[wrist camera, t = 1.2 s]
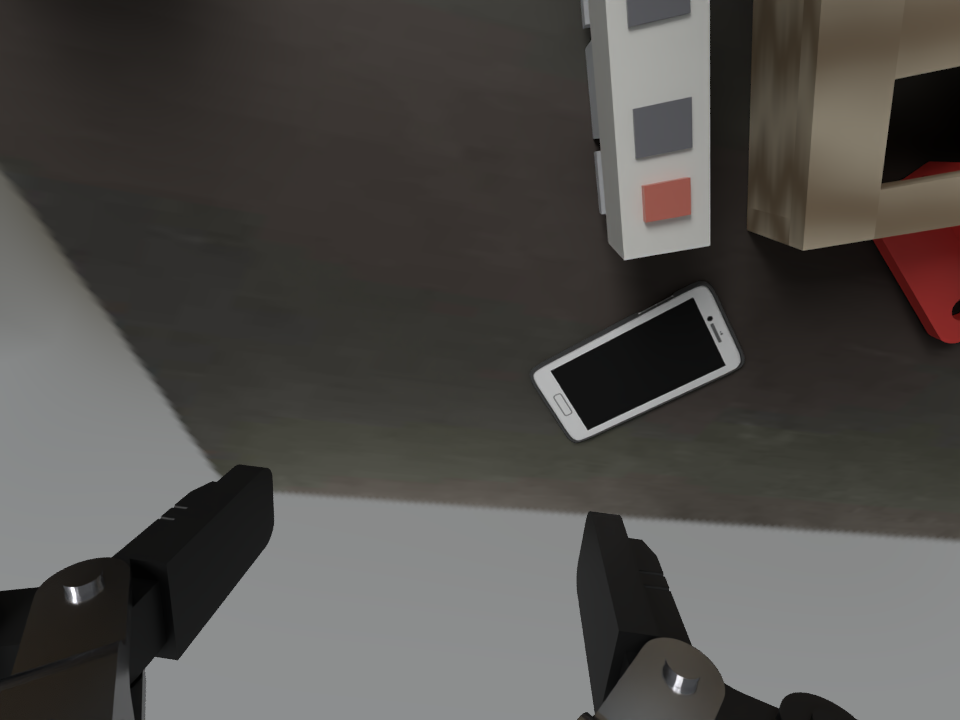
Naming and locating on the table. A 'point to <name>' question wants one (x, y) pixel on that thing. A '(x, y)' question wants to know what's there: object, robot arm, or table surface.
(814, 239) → the wooden block with holes
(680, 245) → the power strip
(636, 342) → the cell phone
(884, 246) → the bracket
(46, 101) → the table surface
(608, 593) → the robot arm
